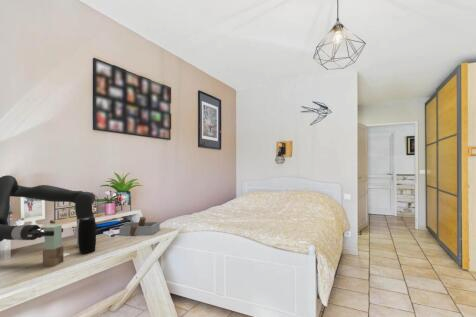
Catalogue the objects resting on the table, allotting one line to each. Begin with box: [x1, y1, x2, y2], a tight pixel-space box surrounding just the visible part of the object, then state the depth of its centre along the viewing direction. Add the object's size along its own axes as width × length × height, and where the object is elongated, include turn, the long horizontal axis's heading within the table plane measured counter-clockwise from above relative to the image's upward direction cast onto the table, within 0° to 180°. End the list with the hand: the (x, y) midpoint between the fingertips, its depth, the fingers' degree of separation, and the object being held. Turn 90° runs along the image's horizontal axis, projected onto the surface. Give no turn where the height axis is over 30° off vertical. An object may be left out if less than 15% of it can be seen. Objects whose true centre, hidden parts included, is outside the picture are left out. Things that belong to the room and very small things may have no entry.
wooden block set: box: [130, 216, 150, 236], centre depth 187 cm, size 18×9×10 cm, turn 153°
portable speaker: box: [78, 216, 97, 255], centre depth 146 cm, size 9×9×20 cm
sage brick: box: [44, 224, 63, 250], centre depth 129 cm, size 5×5×11 cm
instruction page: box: [40, 252, 72, 260], centre depth 139 cm, size 8×11×1 cm
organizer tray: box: [118, 221, 161, 237], centre depth 188 cm, size 16×24×6 cm, turn 88°
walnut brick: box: [42, 245, 64, 267], centre depth 128 cm, size 6×6×8 cm
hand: (58, 231), depth 129 cm, fingers open, 5 cm apart
